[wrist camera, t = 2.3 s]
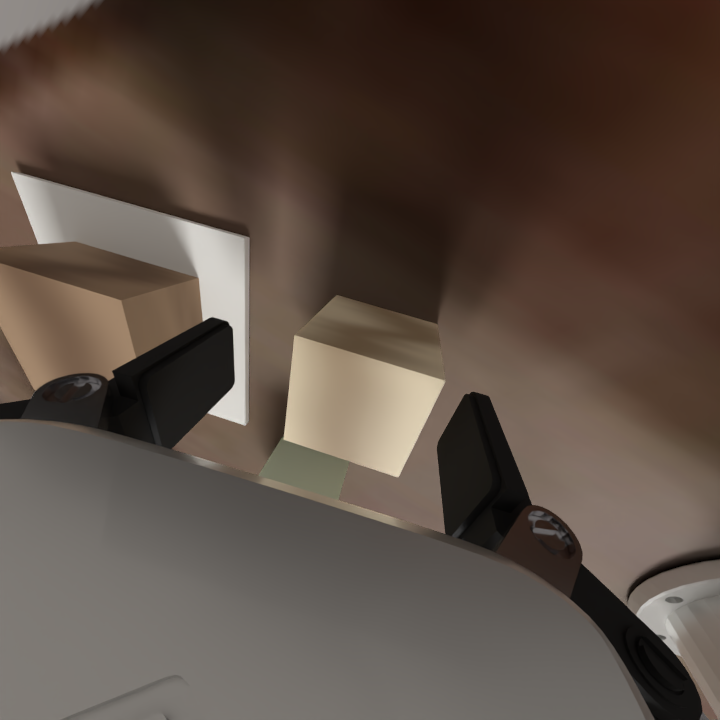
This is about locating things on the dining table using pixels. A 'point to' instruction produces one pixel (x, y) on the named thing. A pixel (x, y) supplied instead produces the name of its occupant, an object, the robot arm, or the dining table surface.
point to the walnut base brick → (88, 308)
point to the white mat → (156, 257)
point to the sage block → (306, 469)
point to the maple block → (363, 383)
